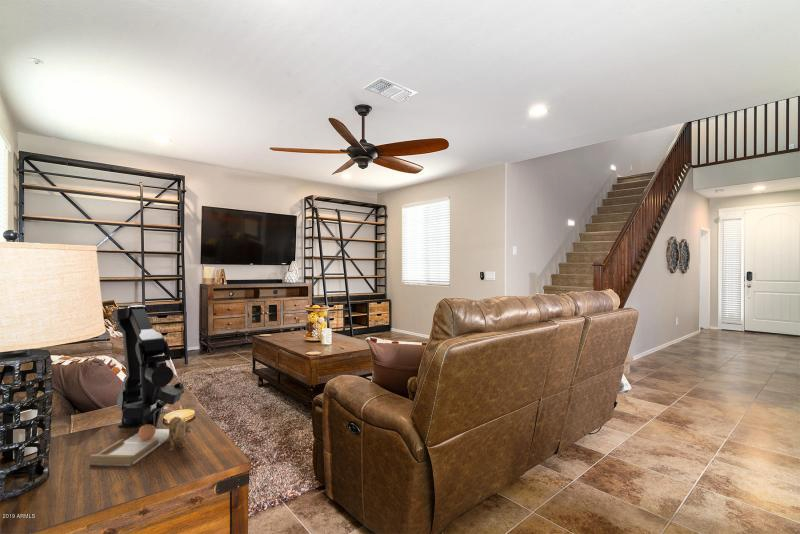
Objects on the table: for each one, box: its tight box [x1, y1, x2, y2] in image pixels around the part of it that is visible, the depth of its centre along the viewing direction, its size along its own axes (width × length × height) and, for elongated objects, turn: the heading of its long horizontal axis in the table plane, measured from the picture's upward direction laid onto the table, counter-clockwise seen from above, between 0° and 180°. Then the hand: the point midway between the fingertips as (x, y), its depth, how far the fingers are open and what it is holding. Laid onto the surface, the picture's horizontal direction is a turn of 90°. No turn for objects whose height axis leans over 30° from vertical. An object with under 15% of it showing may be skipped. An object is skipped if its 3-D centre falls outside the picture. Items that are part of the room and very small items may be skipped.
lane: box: [89, 428, 169, 467], centre depth 116 cm, size 11×22×2 cm, turn 179°
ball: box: [137, 424, 157, 440], centre depth 120 cm, size 4×4×4 cm
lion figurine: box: [166, 416, 194, 452], centre depth 118 cm, size 15×5×9 cm, turn 44°
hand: (153, 428), depth 123 cm, fingers closed
